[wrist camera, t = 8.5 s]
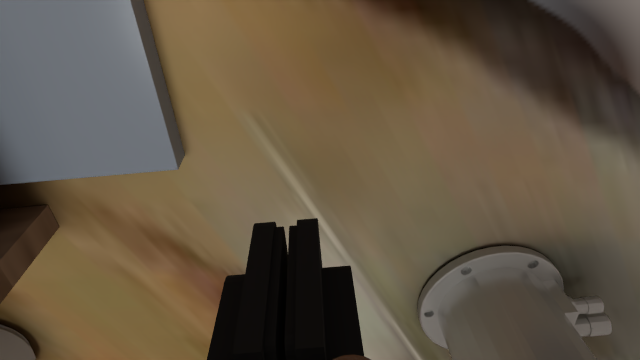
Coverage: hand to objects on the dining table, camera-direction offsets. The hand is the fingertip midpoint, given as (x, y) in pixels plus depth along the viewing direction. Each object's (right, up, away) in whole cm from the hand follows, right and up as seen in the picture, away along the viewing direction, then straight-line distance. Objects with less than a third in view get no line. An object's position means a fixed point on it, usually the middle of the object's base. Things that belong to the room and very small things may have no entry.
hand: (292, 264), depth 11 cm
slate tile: (-18, +8, +15) cm, 24 cm away
